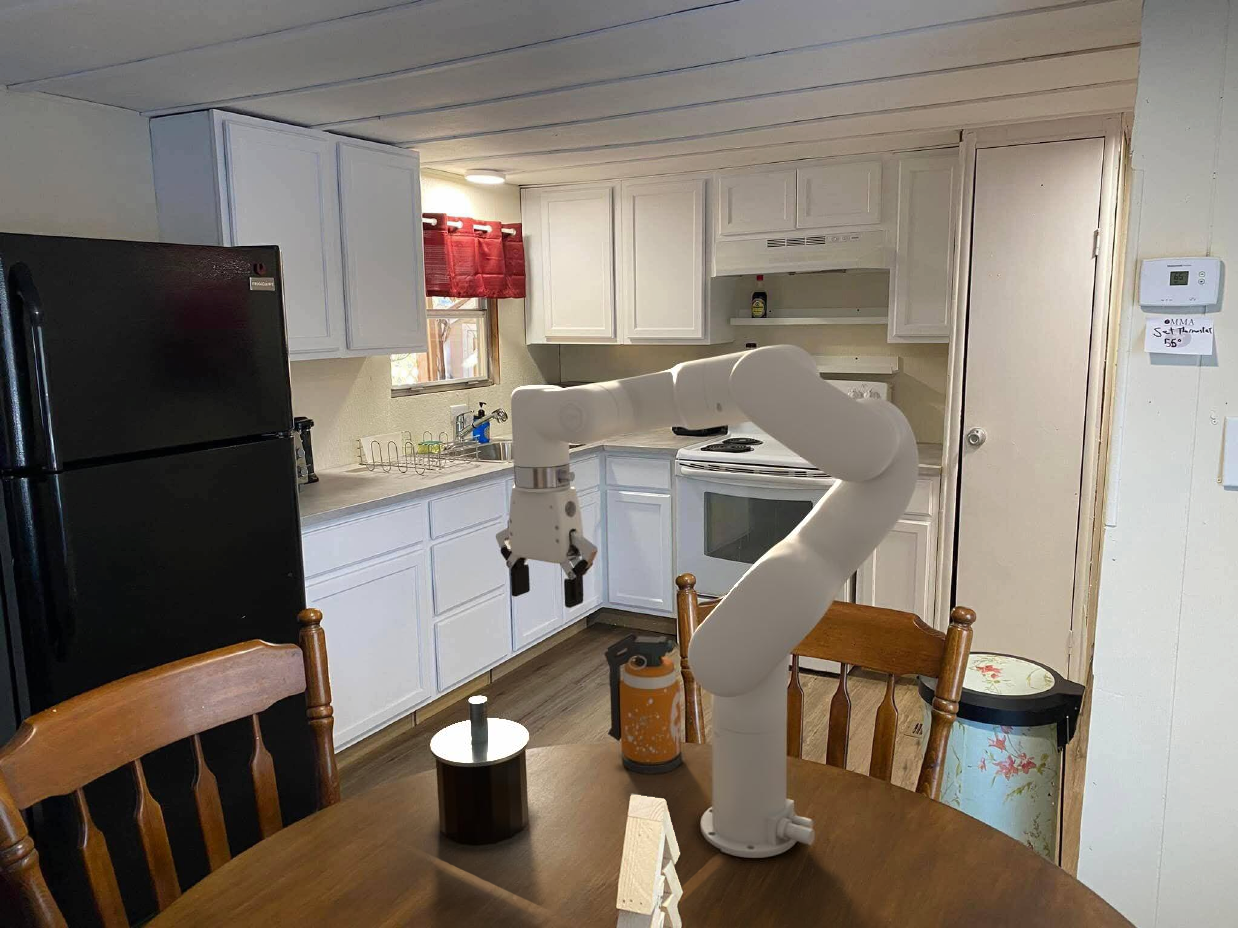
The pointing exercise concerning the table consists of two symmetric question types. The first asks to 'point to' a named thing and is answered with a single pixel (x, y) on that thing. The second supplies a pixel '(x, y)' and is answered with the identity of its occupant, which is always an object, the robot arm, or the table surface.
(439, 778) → the dark pen holder
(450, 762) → the lid
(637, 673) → the canister
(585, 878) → the table surface
